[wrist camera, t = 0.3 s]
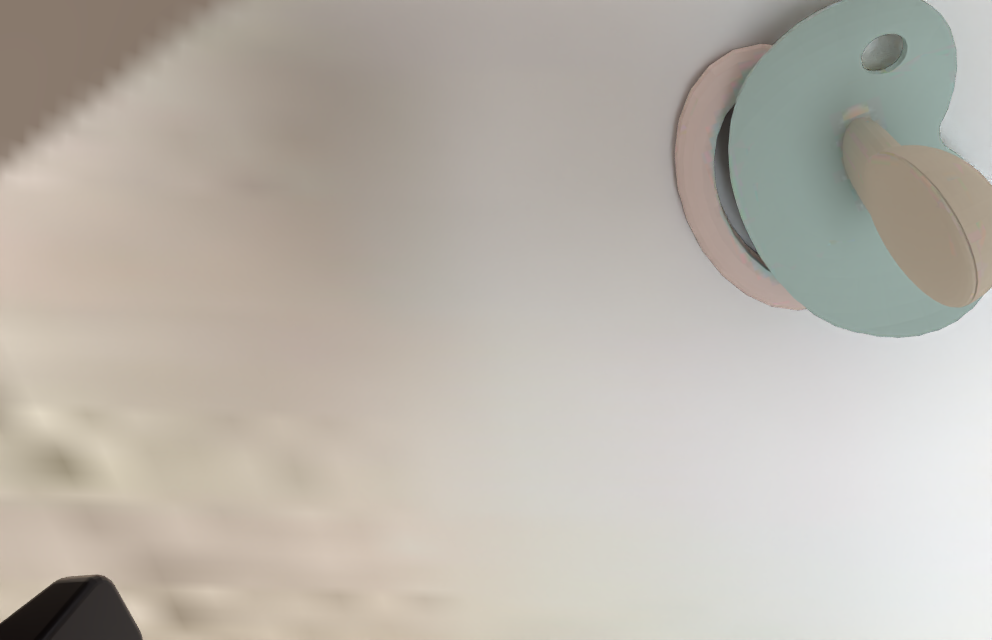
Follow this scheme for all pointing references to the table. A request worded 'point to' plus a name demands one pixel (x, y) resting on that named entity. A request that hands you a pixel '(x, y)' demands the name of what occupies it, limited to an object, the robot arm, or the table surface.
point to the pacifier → (841, 173)
